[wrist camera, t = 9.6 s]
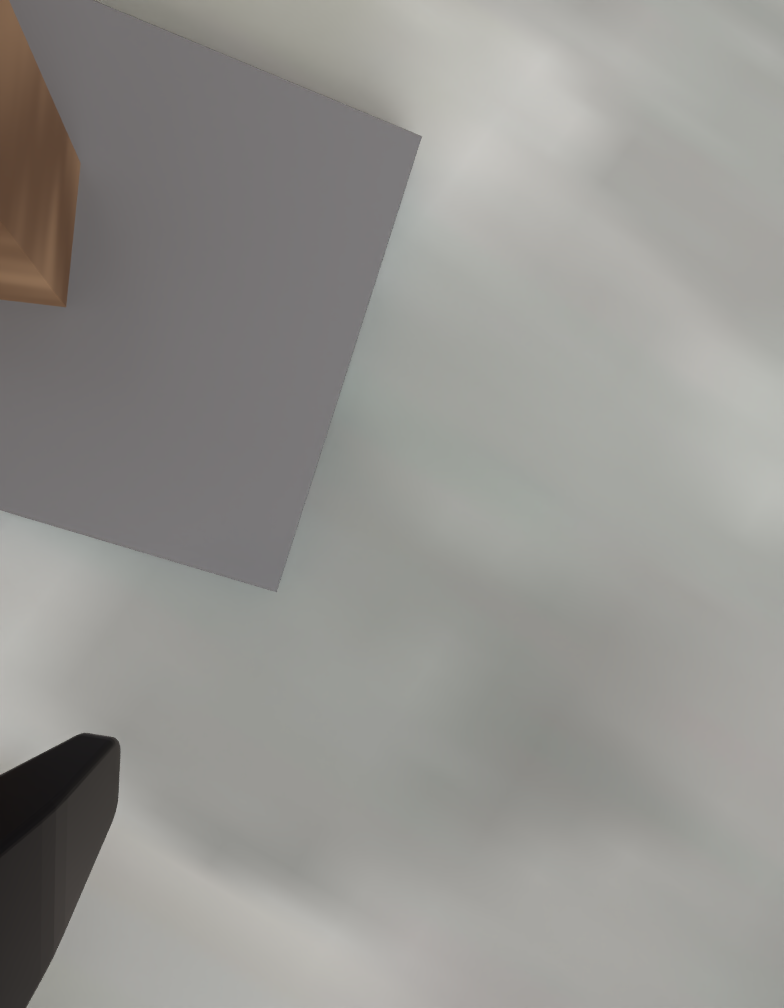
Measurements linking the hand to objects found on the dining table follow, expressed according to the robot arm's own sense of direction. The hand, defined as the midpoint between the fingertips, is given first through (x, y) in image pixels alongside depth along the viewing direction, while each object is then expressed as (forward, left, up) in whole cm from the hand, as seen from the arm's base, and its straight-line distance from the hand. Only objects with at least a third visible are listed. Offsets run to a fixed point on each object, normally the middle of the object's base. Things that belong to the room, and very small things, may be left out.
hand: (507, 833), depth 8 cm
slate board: (-13, +8, -13) cm, 20 cm away
